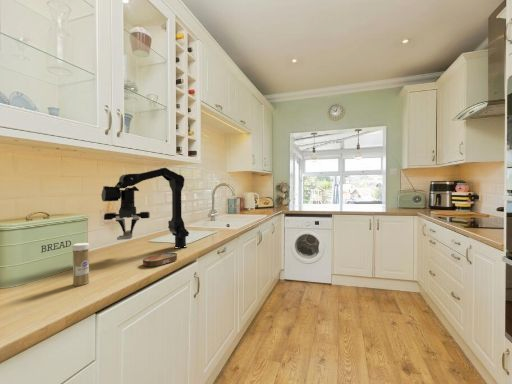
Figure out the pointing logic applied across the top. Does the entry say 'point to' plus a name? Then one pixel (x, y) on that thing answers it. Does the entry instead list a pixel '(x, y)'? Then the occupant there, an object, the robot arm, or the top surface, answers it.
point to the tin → (159, 259)
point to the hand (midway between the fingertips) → (128, 233)
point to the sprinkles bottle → (80, 264)
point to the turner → (125, 235)
